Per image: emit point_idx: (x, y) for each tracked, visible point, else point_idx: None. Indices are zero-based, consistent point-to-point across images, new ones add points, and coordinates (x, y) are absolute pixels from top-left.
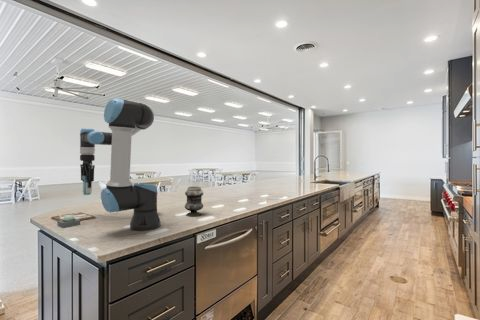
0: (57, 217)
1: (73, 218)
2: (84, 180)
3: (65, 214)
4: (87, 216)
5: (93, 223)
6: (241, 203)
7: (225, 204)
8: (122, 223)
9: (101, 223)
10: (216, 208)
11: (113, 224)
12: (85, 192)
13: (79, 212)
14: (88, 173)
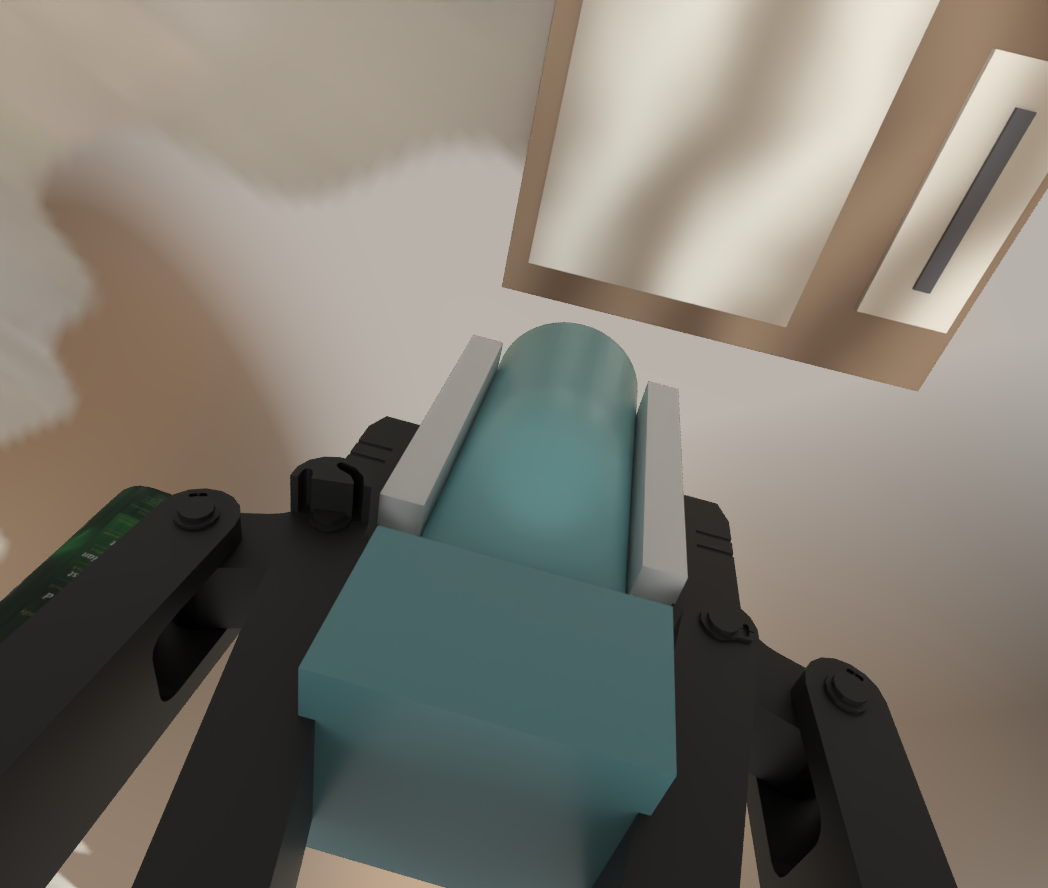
0: (1017, 2)
1: None
2: (484, 551)
3: (1025, 193)
4: (572, 231)
5: (254, 60)
6: None
7: (80, 842)
8: (11, 205)
9: (178, 106)
10: None
11: (31, 131)
12: (525, 351)
13: (922, 377)
14: (164, 864)
